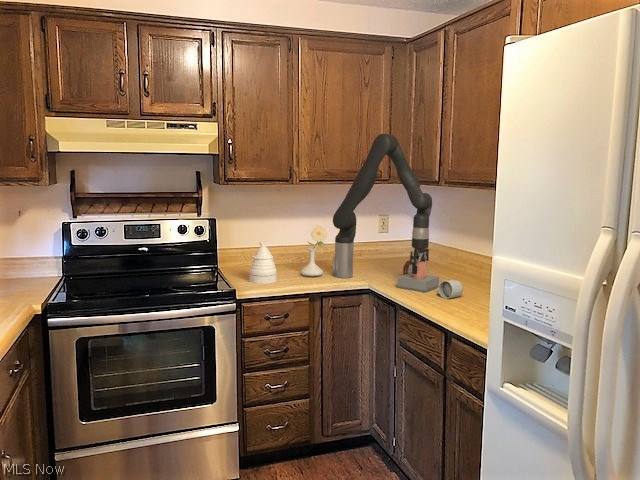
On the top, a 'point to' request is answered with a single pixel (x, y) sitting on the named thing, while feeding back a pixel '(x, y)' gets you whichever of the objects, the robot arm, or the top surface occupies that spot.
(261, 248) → the honey pot
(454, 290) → the ceramic mug
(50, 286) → the top surface
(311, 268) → the flower in vase
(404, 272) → the tin
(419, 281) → the socket block
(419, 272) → the plug
